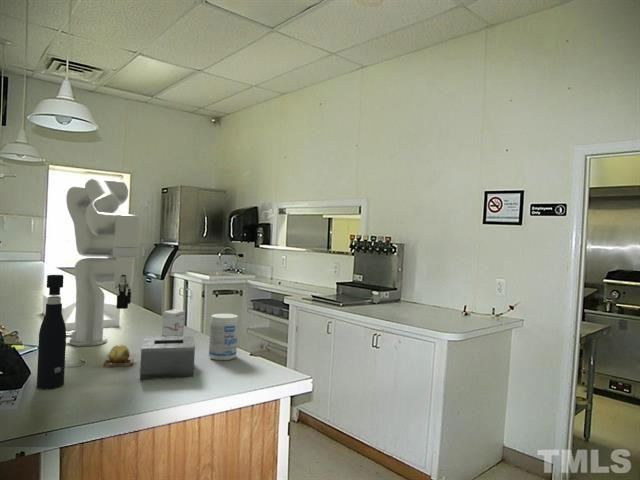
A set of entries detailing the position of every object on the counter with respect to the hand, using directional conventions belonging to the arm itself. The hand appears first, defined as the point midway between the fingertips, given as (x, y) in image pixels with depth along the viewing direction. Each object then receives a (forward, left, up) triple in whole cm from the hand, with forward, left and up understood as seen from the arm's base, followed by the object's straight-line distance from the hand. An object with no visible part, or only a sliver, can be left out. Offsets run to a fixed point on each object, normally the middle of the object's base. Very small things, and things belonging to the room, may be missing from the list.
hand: (123, 306), depth 143 cm
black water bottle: (-16, -18, -19) cm, 31 cm away
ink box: (+15, +30, -19) cm, 38 cm away
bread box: (-27, +76, -19) cm, 83 cm away
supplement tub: (+32, +4, -19) cm, 38 cm away
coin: (-1, 0, -19) cm, 19 cm away
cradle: (-1, 0, -19) cm, 19 cm away
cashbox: (+14, -9, -19) cm, 25 cm away
